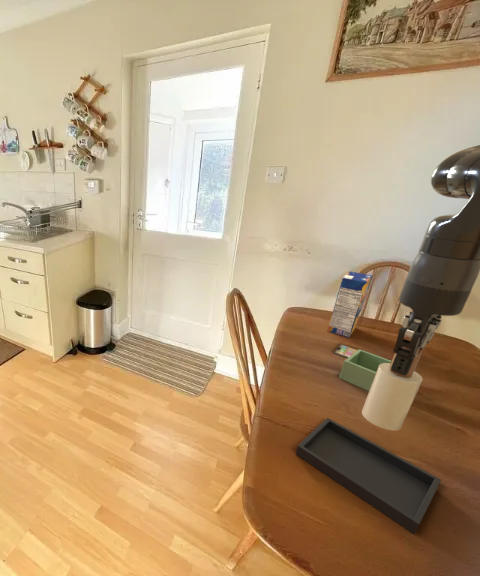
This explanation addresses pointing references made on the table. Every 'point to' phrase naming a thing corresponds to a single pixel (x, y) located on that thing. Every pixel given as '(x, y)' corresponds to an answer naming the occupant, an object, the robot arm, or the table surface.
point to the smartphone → (345, 351)
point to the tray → (370, 472)
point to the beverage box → (349, 303)
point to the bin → (361, 368)
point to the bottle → (391, 395)
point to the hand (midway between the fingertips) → (402, 368)
